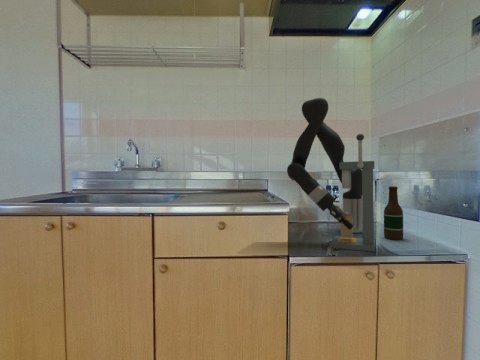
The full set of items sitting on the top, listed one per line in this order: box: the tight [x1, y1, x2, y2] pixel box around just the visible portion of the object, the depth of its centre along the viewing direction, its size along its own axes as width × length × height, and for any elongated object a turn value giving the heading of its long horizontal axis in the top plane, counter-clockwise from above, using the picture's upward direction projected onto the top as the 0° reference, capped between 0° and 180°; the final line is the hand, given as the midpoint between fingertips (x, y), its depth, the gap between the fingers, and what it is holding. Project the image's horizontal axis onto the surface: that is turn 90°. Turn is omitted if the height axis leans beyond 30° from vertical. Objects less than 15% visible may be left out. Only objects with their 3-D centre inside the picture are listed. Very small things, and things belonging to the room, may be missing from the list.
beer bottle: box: [383, 185, 404, 241], centre depth 123 cm, size 8×8×24 cm
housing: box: [340, 212, 354, 238], centre depth 112 cm, size 4×4×10 cm
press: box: [331, 133, 376, 253], centre depth 111 cm, size 13×16×46 cm
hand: (351, 227), depth 111 cm, fingers closed on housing, 4 cm apart
